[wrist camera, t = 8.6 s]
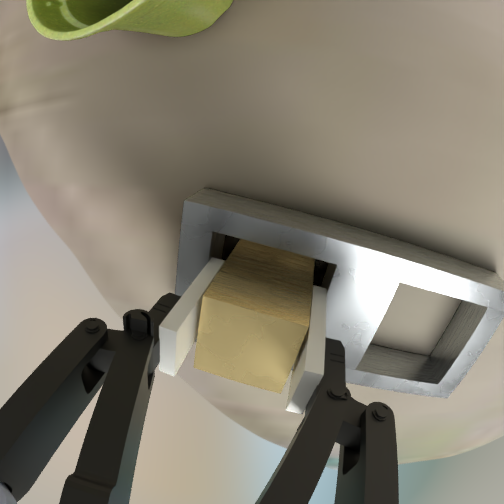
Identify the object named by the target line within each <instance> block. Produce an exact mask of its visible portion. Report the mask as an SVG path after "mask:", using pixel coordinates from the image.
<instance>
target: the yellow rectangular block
mask: <svg viewBox="0 0 504 504" xmlns="http://www.w3.org/2000/svg"><path fill="white" fill-rule="evenodd" d="M314 261H315V258H311V257H307V256H304V255H300V254H296V253H293V252H289V251H285V250H282V249H278V248H274V247H270V246H267V245H263V244H259V243H255V242H252V241H248V240H244V239H240V241H239V242H238V244H237V245H236V247H235V248H234V250H233V251H232V253H231V254H230V256H229V257H228V259H227V260H226V261H225V263H224V264H223V266H222V267H221V269H220V270H219V272H218V273H217V275H216V276H215V278H214V279H213V281H212V282H211V284H210V285H209V287H208V288H207V290H206V291H205V293H204V294H203V298H202V305H201V312H200V320H199V327H198V335H197V343H196V351H195V360H194V368H197V369H200V370H203V371H206V372H209V373H212V374H215V375H218V376H221V377H224V378H227V379H230V380H234V381H237V382H240V383H244V384H247V385H251V386H254V387H258V388H261V389H265V390H269V391H272V392H276V393H280V394H281V392H282V389H283V387H284V385H285V382H286V380H287V378H288V376H289V373H290V371H291V369H292V366H293V364H294V362H295V359H296V357H297V354H298V352H299V350H300V347H301V345H302V342H303V340H304V337H305V335H306V332H307V330H308V327H309V320H310V310H311V299H312V287H313V274H314Z"/></svg>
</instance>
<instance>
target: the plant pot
mask: <svg viewBox="0 0 504 504" xmlns="http://www.w3.org/2000/svg"><path fill="white" fill-rule="evenodd" d="M232 2H233V0H26V5H27V12H28V16H29V19H30V21H31V23H32V25H33V26H34V28H35V29H36V30H37V31H38V32H39V33H40V34H41V35H43V36H45V37H47V38H49V39H53V40H62V41H68V40H76V39H81V38H85V37H88V36H91V35H94V34H96V33H99V32H104V31H109V30H114V29H116V30H127V31H137V32H145V33H151V34H157V35H163V36H170V37H183V36H188V35H192V34H195V33H198V32H200V31H203V30H205V29H206V28H208V27H210V26H211V25H212V24H213V23H214V22H215V21H216V20H217V19H218V18H219V17H220V16H221V15H222V14H223V13H224V12H225V11H226V10H227V9H228V8H229V7H230V5H231V4H232Z"/></svg>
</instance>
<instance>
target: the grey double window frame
mask: <svg viewBox="0 0 504 504" xmlns="http://www.w3.org/2000/svg"><path fill="white" fill-rule="evenodd" d="M225 235H229V236H233V237H237V238H241V239H244V240H248V241H252V242H255V243H259V244H263V245H267V246H270V247H274V248H278V249H282V250H285V251H289V252H293V253H296V254H300V255H304V256H307V257H311V258H315V259H318V260H322V261H326V262H329V264H328V267H327V270H326V273H325V276H324V279H323V282H322V285H321V287H322V288H326V289H327V293H326V295H327V297H326V336H325V337H327V338H331V339H335V340H339V341H341V342H342V344H343V346H344V348H345V372H346V383H351V384H356V385H362V386H367V387H372V388H378V389H384V390H390V391H396V392H402V393H409V394H416V395H423V396H431V397H439V398H448V397H449V396H450V394H451V393H452V392H453V391H454V389H455V388H456V387H457V386H458V384H459V383H460V382H461V380H462V379H463V378H464V376H465V375H466V374H467V372H468V371H469V370H470V368H471V367H472V365H473V364H474V363H475V361H476V360H477V358H478V357H479V355H480V354H481V353H482V351H483V350H484V348H485V347H486V345H487V343H488V342H489V340H490V339H491V337H492V336H493V334H494V332H495V331H496V329H497V328H498V326H499V324H500V322H501V321H502V319H503V317H504V281H503V280H502V279H501V278H500V277H499V276H498V274H497V273H495V272H492V271H489V270H487V269H484V268H481V267H478V266H475V265H473V264H470V263H467V262H464V261H461V260H458V259H455V258H453V257H450V256H447V255H444V254H441V253H438V252H435V251H432V250H429V249H426V248H422V247H419V246H416V245H413V244H410V243H407V242H404V241H401V240H397V239H394V238H391V237H388V236H384V235H381V234H378V233H374V232H371V231H368V230H364V229H361V228H358V227H354V226H351V225H347V224H344V223H340V222H337V221H333V220H330V219H326V218H322V217H319V216H315V215H312V214H308V213H304V212H300V211H297V210H293V209H289V208H285V207H281V206H278V205H274V204H270V203H266V202H262V201H258V200H254V199H250V198H246V197H241V196H237V195H233V194H229V193H225V192H220V191H216V190H212V189H207V188H203V189H202V190H200V191H199V192H197V193H195V194H194V195H192V196H190V197H189V198H187V199H185V200H184V205H183V214H182V223H181V232H180V242H179V252H178V263H177V275H176V288H175V295H178V296H181V297H182V295H183V294H184V293H185V291H186V290H187V289H188V288H189V286H190V285H191V284H192V282H193V281H194V280H195V279H196V277H197V276H198V275H199V273H200V272H201V271H202V270H203V268H204V267H205V266H206V264H207V263H208V262H209V261H210V259H211V258H212V257H213V258H217V259H221V258H222V252H223V246H224V240H225ZM399 282H401V283H405V284H409V285H412V286H416V287H419V288H423V289H426V290H430V291H433V292H437V293H440V294H444V295H447V296H451V297H454V298H458V299H461V300H462V302H461V304H460V306H459V308H458V309H457V311H456V313H455V315H454V317H453V318H452V320H451V322H450V324H449V325H448V327H447V329H446V331H445V332H444V334H443V336H442V337H441V339H440V341H439V342H438V344H437V345H436V347H435V349H434V350H433V352H432V353H431V355H430V356H425V355H420V354H414V353H410V352H405V351H400V350H395V349H390V348H386V347H381V346H377V345H372V344H370V342H371V340H372V338H373V336H374V334H375V333H376V331H377V329H378V327H379V325H380V323H381V321H382V319H383V317H384V315H385V313H386V310H387V308H388V306H389V304H390V302H391V300H392V298H393V296H394V293H395V291H396V289H397V287H398V285H399ZM195 342H197V338H196V340H195ZM293 366H294V364H293ZM293 366H292V369H291V370H293Z"/></svg>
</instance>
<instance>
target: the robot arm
mask: <svg viewBox="0 0 504 504" xmlns="http://www.w3.org/2000/svg"><path fill="white" fill-rule="evenodd" d="M224 263H225V261H224V260H221V259H217V258H213V257H212V258H211V259H210V261H209V262H208V263H207V264H206V266H205V267H204V268H203V270H202V271H201V272H200V273H199V275H198V276H197V277H196V279H195V280H194V281H193V282H192V284H191V285H190V286H189V288H188V289H187V290H186V291H185V293H184V294H183V295H182V297H181V296H178V295H175V294H172V293H168V294H166V295H164V296H162V297H161V298H160V299H159V300H158V301H157V303H156V304H155V305H154V306H153V308H151V310H150V311H149V312H148V311H145V310H141V309H135V310H130V311H128V312H126V313H125V314H124V316H123V324H124V331H120V330H111V329H107V325H106V324H105V322H104V321H102V320H101V319H97V318H88V319H86V320H84V321H82V322H81V323H80V324H79V325H78V326H77V327H76V328H75V329H74V330H73V331H72V332H71V333H70V334H69V335H68V336H67V337H66V338H65V339H64V340H63V341H62V342H61V343H60V344H59V345H58V346H57V347H56V348H55V349H54V350H53V351H52V352H51V354H50V355H49V356H48V357H47V358H46V359H45V360H44V361H43V362H42V363H41V364H40V365H39V366H38V367H37V368H36V370H35V371H34V372H33V373H32V374H31V375H30V376H29V377H28V378H27V379H26V380H25V382H24V383H23V384H22V385H21V386H20V387H19V388H18V389H17V390H16V392H15V393H14V394H13V395H12V396H11V397H10V398H9V400H8V401H7V402H6V403H5V404H4V405H3V407H2V408H1V409H0V504H17V502H18V501H19V500H20V499H21V498H22V497H23V496H24V495H25V494H26V493H27V492H28V491H29V490H30V488H31V487H32V486H33V484H34V483H35V481H36V480H37V478H38V477H39V475H40V474H41V472H42V471H43V469H44V468H45V466H46V465H47V463H48V462H49V460H50V459H51V457H52V456H53V454H54V453H55V451H56V450H57V448H58V447H59V446H60V444H61V442H62V441H63V440H64V438H65V437H66V435H67V434H68V433H69V431H70V430H71V428H72V427H73V425H74V424H75V423H76V421H77V420H78V418H79V417H80V415H81V414H82V413H83V411H84V410H85V408H86V407H87V406H88V404H89V403H90V401H91V400H92V398H93V397H94V396H95V394H96V393H97V392H98V390H99V389H100V388H101V386H102V385H103V386H102V389H101V392H100V395H99V397H98V400H97V403H96V406H95V409H94V412H93V415H92V418H91V421H90V424H89V427H88V430H87V433H86V436H85V439H84V442H83V445H82V449H81V452H80V455H79V459H78V462H77V466H76V469H75V472H74V473H73V474H71V475H69V476H68V477H67V479H66V481H65V484H64V488H63V491H62V495H61V498H60V503H59V504H129V499H130V493H131V488H132V482H133V476H134V470H135V465H136V460H137V455H138V449H139V444H140V440H141V435H142V430H143V425H144V421H145V416H146V411H147V407H148V403H149V398H150V394H151V390H152V385H153V381H154V377H155V373H154V372H155V371H154V370H155V368H156V367H157V365H158V364H159V370H160V371H162V372H164V373H167V374H169V375H172V376H175V375H176V373H177V371H178V370H179V368H180V366H181V364H182V363H183V361H184V359H185V357H186V356H187V354H188V352H189V350H190V349H191V347H192V345H193V343H194V342H195V340H196V338H197V335H198V327H199V320H200V312H201V305H202V298H203V294H204V293H205V291H206V290H207V288H208V287H209V285H210V284H211V282H212V281H213V279H214V278H215V276H216V275H217V273H218V272H219V270H220V269H221V267H222V266H223V264H224ZM326 293H327V289H326V288H322V287H318V286H315V285H313V288H312V299H311V310H310V320H309V327H308V330H307V332H306V335H305V337H304V340H303V342H302V345H301V347H300V350H299V352H298V354H297V357H296V359H295V362H294V366H293V372H292V378H291V383H290V389H289V395H288V400H287V406H286V411H290V412H294V413H299V414H303V412H304V410H305V409H306V410H305V417H304V419H303V420H302V422H301V424H300V425H299V427H298V429H297V432H296V434H295V436H294V438H293V439H292V441H291V443H290V445H289V447H288V449H287V450H286V452H285V454H284V456H283V458H282V460H281V461H280V463H279V465H278V466H277V468H276V470H275V472H274V473H273V475H272V477H271V479H270V480H269V482H268V483H267V485H266V487H265V489H264V490H263V492H262V493H261V495H260V497H259V498H258V500H257V501H256V503H255V504H308V502H309V500H310V498H311V496H312V494H313V492H314V490H315V488H316V486H317V483H318V481H319V479H320V477H321V474H322V472H323V470H324V468H325V465H326V463H327V461H328V458H329V456H330V453H331V451H332V448H333V446H334V443H335V442H337V443H339V444H340V454H339V466H338V477H337V487H336V495H335V503H334V504H399V499H398V495H399V494H398V460H397V443H396V430H395V419H394V414H393V411H392V410H391V408H390V407H389V406H387V405H386V404H384V403H381V402H373V403H370V404H369V405H368V406H366V405H364V404H362V403H360V402H358V401H356V400H354V399H353V398H352V397H351V394H350V391H349V390H348V389H347V387H346V372H345V348H344V346H343V344H342V342H341V341H339V340H335V339H331V338H327V337H325V336H326V297H327V295H326ZM103 383H104V384H103Z"/></svg>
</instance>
